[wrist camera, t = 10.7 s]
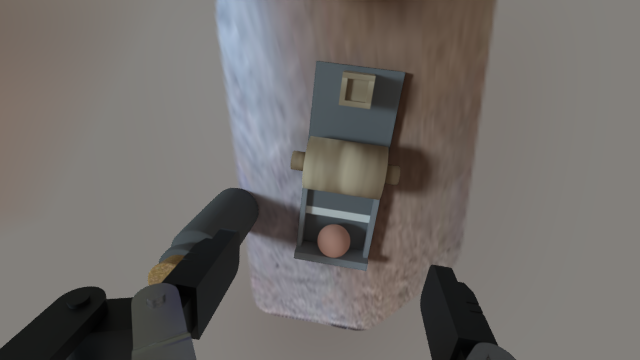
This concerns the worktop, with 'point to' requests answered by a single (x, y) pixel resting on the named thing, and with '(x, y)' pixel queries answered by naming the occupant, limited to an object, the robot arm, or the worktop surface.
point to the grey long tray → (354, 128)
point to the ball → (333, 240)
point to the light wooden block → (356, 89)
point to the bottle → (209, 228)
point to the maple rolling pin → (345, 167)
